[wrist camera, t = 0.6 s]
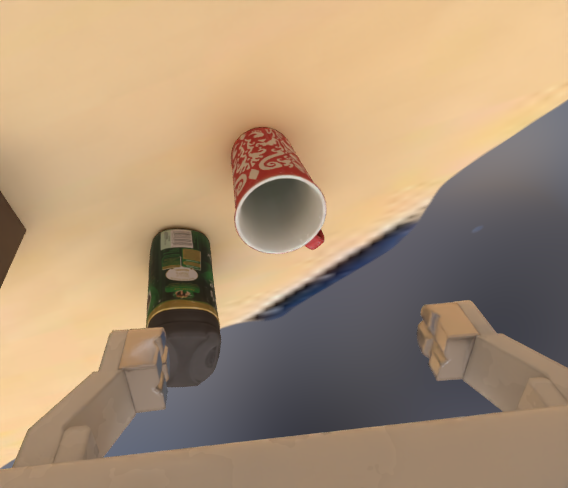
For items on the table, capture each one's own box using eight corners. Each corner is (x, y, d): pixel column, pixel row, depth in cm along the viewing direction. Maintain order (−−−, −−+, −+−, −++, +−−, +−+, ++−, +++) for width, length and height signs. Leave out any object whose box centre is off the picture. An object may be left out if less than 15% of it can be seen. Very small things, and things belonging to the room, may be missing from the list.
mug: (206, 151, 51) (214, 215, 41) (268, 102, 49) (293, 157, 39) (269, 218, 59) (290, 286, 48) (325, 177, 57) (360, 240, 46)
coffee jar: (206, 282, 63) (216, 394, 49) (148, 280, 61) (141, 397, 47) (214, 226, 58) (228, 334, 43) (151, 222, 55) (144, 335, 41)
